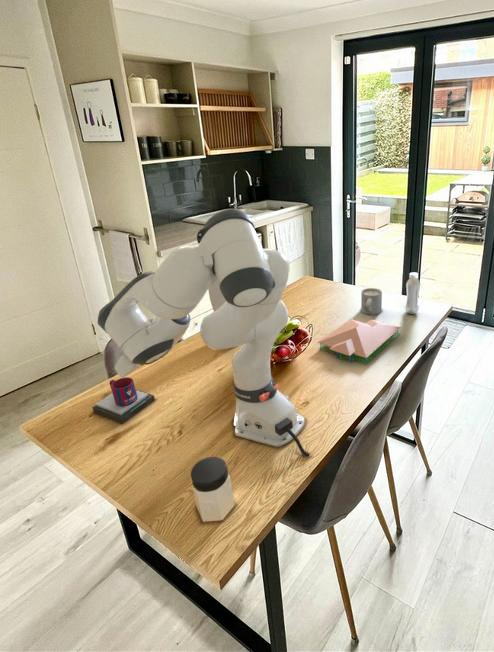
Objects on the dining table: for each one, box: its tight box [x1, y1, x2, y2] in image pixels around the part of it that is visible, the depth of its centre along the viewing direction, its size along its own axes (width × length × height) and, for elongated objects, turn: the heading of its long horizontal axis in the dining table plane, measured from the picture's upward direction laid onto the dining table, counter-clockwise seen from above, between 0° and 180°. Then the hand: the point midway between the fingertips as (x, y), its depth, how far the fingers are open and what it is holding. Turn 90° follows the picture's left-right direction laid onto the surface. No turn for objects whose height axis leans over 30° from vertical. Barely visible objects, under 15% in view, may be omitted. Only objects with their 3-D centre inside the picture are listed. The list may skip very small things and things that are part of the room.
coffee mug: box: [360, 287, 383, 315], centre depth 195 cm, size 13×10×10 cm
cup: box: [109, 376, 138, 406], centre depth 131 cm, size 7×10×7 cm
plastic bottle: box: [404, 272, 421, 315], centre depth 190 cm, size 6×7×20 cm
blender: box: [207, 281, 226, 312], centre depth 166 cm, size 16×12×32 cm
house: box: [317, 318, 401, 365], centre depth 166 cm, size 23×33×8 cm
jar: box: [190, 456, 236, 523], centre depth 93 cm, size 9×8×12 cm
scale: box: [91, 389, 156, 424], centre depth 133 cm, size 14×13×3 cm
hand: (140, 364), depth 122 cm, fingers open, 8 cm apart
